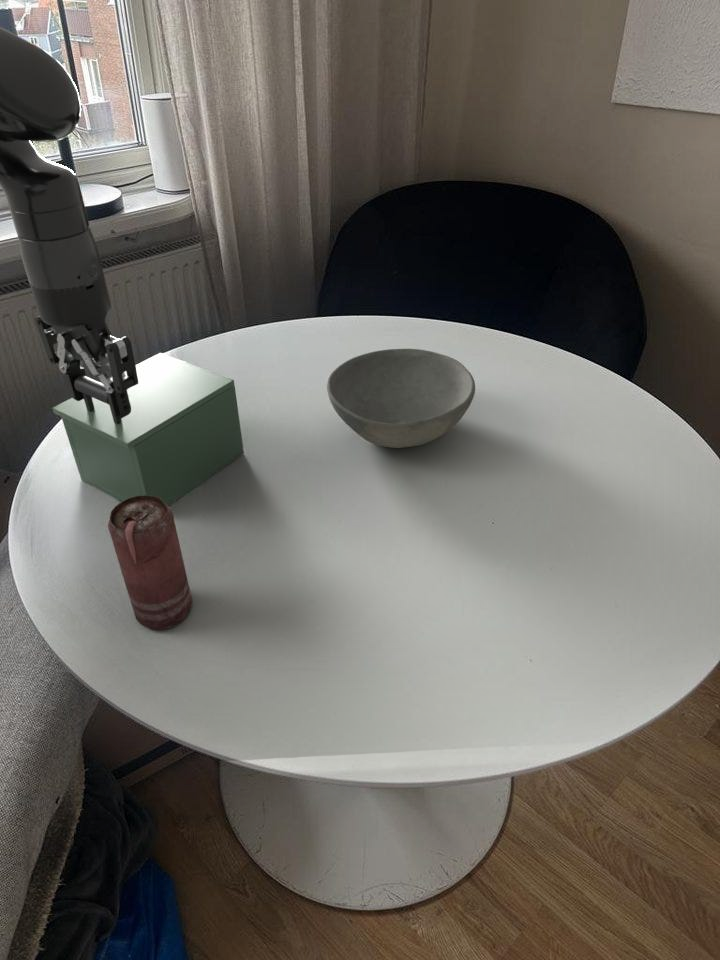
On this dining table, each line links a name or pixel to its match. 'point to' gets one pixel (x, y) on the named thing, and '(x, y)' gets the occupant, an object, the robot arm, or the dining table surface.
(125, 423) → the lid
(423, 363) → the bowl
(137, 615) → the can
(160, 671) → the dining table surface
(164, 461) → the chest
